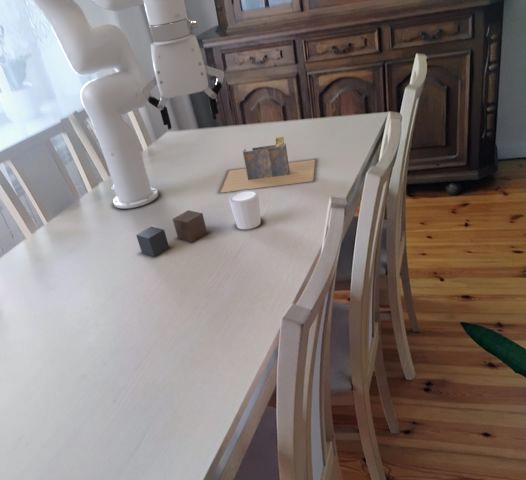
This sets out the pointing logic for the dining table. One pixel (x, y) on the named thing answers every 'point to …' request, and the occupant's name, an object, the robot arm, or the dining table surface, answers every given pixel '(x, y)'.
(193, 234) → the walnut block
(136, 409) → the dining table surface
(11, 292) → the dining table surface
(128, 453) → the dining table surface
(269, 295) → the dining table surface
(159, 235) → the charcoal block
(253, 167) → the ruin model on sheet
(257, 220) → the white cylinder
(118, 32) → the robot arm
